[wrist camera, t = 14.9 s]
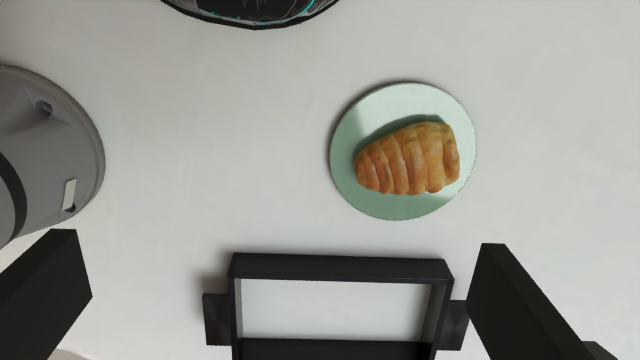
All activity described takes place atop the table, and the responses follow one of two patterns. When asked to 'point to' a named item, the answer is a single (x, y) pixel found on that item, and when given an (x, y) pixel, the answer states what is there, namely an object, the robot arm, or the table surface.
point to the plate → (383, 118)
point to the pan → (341, 355)
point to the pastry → (410, 160)
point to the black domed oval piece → (252, 11)
